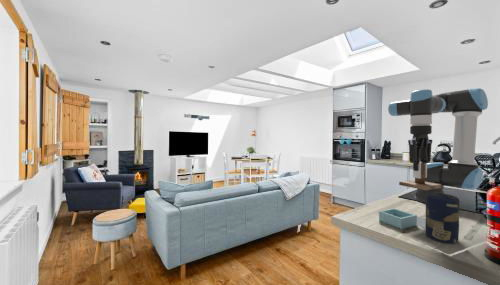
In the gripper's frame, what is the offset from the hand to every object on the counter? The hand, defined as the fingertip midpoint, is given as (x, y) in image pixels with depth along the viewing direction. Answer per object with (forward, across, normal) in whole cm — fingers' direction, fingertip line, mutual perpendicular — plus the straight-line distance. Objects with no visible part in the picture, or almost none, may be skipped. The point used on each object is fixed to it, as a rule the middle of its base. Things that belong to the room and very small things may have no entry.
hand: (419, 177), depth 98 cm
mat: (+21, -1, 0) cm, 21 cm away
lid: (+4, 0, 0) cm, 4 cm away
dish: (+21, +10, -3) cm, 23 cm away
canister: (+21, +10, +13) cm, 26 cm away
